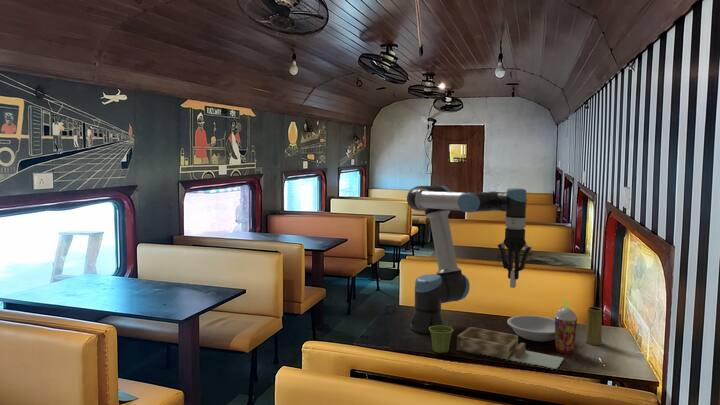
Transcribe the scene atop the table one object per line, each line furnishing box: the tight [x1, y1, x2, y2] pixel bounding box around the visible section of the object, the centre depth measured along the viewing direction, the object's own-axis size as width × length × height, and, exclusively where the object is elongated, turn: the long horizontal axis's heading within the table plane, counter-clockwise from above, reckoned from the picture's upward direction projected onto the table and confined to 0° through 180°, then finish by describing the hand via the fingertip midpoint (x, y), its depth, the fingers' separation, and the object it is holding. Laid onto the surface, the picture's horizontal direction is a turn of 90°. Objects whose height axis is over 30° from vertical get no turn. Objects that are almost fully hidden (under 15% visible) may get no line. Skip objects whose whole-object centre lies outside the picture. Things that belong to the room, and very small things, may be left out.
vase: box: [585, 306, 603, 346], centre depth 213 cm, size 6×6×14 cm
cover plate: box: [508, 342, 565, 370], centre depth 194 cm, size 17×12×5 cm
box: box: [456, 326, 519, 361], centre depth 205 cm, size 20×14×6 cm
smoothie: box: [553, 300, 578, 355], centre depth 203 cm, size 8×8×20 cm
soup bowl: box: [506, 314, 555, 343], centre depth 218 cm, size 24×24×7 cm
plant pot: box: [429, 325, 454, 354], centre depth 203 cm, size 9×9×9 cm
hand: (512, 286), depth 206 cm, fingers closed
